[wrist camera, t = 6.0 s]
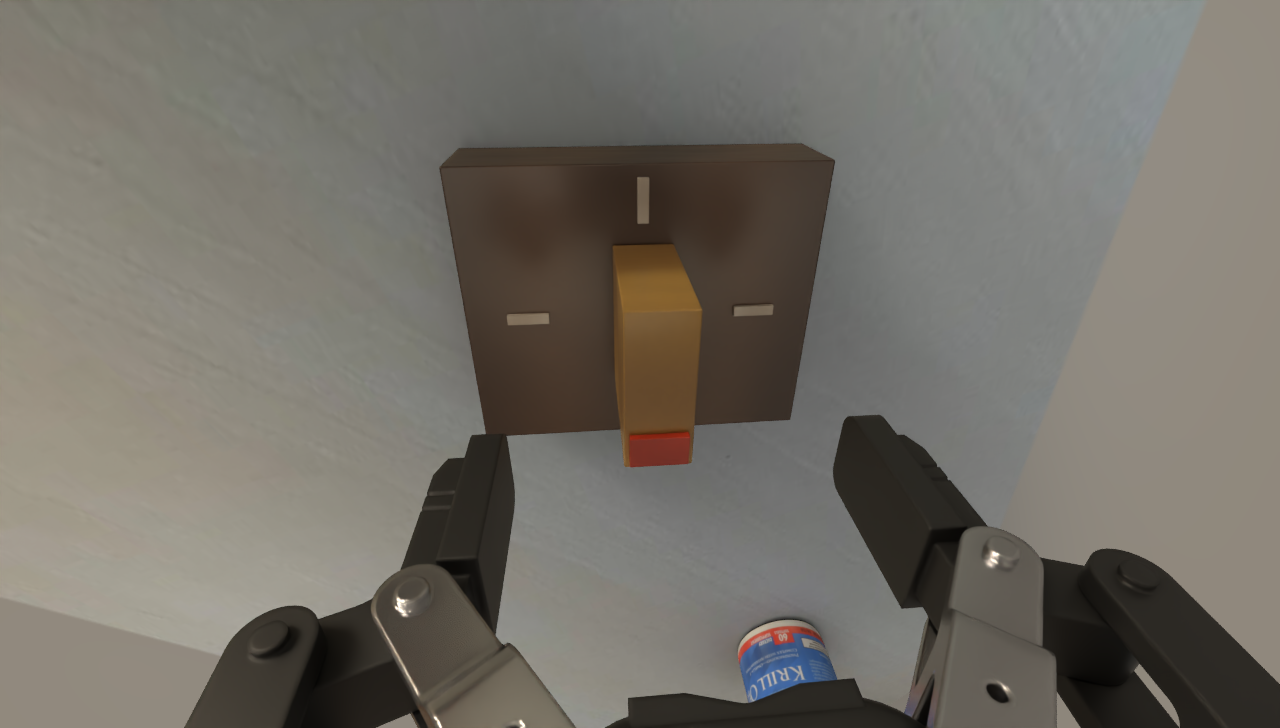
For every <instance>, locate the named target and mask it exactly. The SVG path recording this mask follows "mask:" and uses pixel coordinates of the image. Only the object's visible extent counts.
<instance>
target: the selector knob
mask: <svg viewBox="0 0 1280 728" xmlns="http://www.w3.org/2000/svg"><path fill="white" fill-rule="evenodd" d="M612 249H613V304H614V358H615V383H616V392H617V402H618V411H619V421H620V431H621V440H622V450H623V459H624V466H625V467H644V466H661V465H679V464H688V463H691V462H692V453H693V439H694V425H695V411H696V397H697V383H698V369H699V355H700V342H701V328H702V314H703V310H702V307H701V305H700V303H699V301H698V298H697V296H696V294H695V292H694V289H693V287H692V285H691V283H690V280H689V278H688V276H687V273H686V271H685V269H684V267H683V264H682V262H681V260H680V258H679V255H678V253H677V251H676V249H675V246H674V244H656V245H614V246H613V247H612Z"/></svg>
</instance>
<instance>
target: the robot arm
mask: <svg viewBox="0 0 1280 728" xmlns="http://www.w3.org/2000/svg"><path fill="white" fill-rule="evenodd" d="M833 477H834V483H835V487H836V490H837V492H838V494H839V496H840V497H841V499H842V501H843V503H844V505H845V507H846V508H847V510H848V512H849V514H850V516H851V517H852V519H853V521H854V523H855V525H856V527H857V528H858V530H859V532H860V534H861V536H862V537H863V539H864V541H865V543H866V545H867V547H868V548H869V550H870V552H871V554H872V556H873V557H874V559H875V561H876V563H877V565H878V567H879V568H880V570H881V572H882V574H883V576H884V577H885V579H886V581H887V583H888V585H889V586H890V588H891V590H892V592H893V594H894V596H895V597H896V599H897V601H898V603H899V605H900V606H901V608H902V609H903V608H916V607H923V608H924V610H925V611H926V613H927V615H928V618H927V620H926V622H925V625H924V629H923V634H922V638H921V643H920V648H919V652H918V657H917V662H916V666H915V671H914V676H913V680H912V685H911V689H910V694H909V698H908V702H907V705H906V709H905V712H904V713H903V712H901V711H899V710H897V709H895V708H892V707H890V706H888V705H886V704H883V703H880V702H877V701H874V700H870V699H866V698H862V696H861V693H860V691H859V688H858V686H857V684H856V681H855V679H854V678H853V679H841V680H830V681H818V682H807V683H799V684H796V685H794V686H791V687H789V688H786V689H784V690H781V691H779V692H776V693H774V694H771V695H769V696H766V697H764V698H761V699H759V700H756V701H754V702H750V703H737V702H732V701H726V700H721V699H715V698H710V697H704V696H698V695H693V694H687V693H680V694H668V695H657V696H645V697H634V698H628V715H629V716H628V717H626V718H623V719H621V720H618V721H616V722H614V723H612V724H611V725H609V726H607V727H605V728H1057V692H1058V694H1059V695H1060V697H1061V698H1062V700H1063V701H1064V703H1065V704H1066V706H1067V707H1068V709H1069V710H1070V712H1071V714H1072V715H1073V717H1074V718H1075V720H1076V721H1077V723H1078V724H1079V726H1080V727H1081V728H1179V727H1178V726H1177V724H1176V723H1175V722H1174V720H1173V719H1172V718H1171V717H1170V716H1169V714H1168V713H1167V712H1166V710H1165V709H1164V708H1163V707H1162V705H1161V704H1160V703H1159V702H1158V701H1157V699H1156V698H1155V697H1154V695H1153V694H1152V693H1151V692H1150V690H1149V689H1148V688H1147V687H1146V685H1145V684H1144V683H1143V682H1142V680H1141V679H1140V678H1139V677H1138V675H1137V674H1136V673H1135V672H1134V670H1135V668H1136V667H1137V666H1138V665H1139V663H1140V665H1141V666H1142V667H1143V668H1144V669H1145V671H1146V672H1147V673H1148V674H1149V676H1150V677H1151V678H1152V679H1153V680H1154V682H1155V683H1156V684H1157V685H1158V687H1159V688H1160V689H1161V690H1162V691H1163V693H1164V694H1165V695H1166V696H1167V697H1168V699H1169V700H1170V702H1171V703H1172V704H1173V706H1174V708H1175V710H1176V712H1177V714H1178V717H1179V721H1180V728H1280V684H1279V683H1278V682H1277V681H1276V680H1275V679H1274V678H1273V677H1272V676H1271V675H1270V674H1269V673H1268V672H1267V671H1266V670H1265V669H1264V668H1263V667H1262V666H1261V665H1260V664H1259V663H1258V662H1257V661H1256V660H1255V659H1254V658H1253V657H1252V656H1251V655H1250V654H1249V653H1248V652H1247V651H1246V650H1245V649H1243V648H1242V646H1241V645H1240V644H1239V643H1238V642H1237V641H1236V640H1235V639H1234V638H1233V637H1232V636H1231V635H1230V634H1228V633H1227V631H1225V629H1224V628H1222V626H1221V625H1219V624H1218V623H1217V622H1216V621H1215V620H1214V619H1213V618H1212V617H1211V616H1210V615H1209V614H1208V613H1207V612H1206V611H1205V610H1204V609H1203V608H1202V607H1201V606H1200V605H1199V604H1198V603H1197V602H1196V601H1195V600H1194V599H1193V598H1192V597H1191V596H1190V595H1189V594H1188V593H1187V592H1186V591H1185V590H1184V589H1183V588H1182V587H1181V586H1180V585H1179V584H1178V583H1177V582H1176V581H1175V580H1174V579H1173V578H1172V577H1171V576H1170V575H1169V574H1168V573H1166V572H1165V571H1164V570H1162V569H1161V568H1160V567H1158V566H1157V565H1155V564H1153V563H1152V562H1150V561H1148V560H1146V559H1144V558H1142V557H1140V556H1137V555H1135V554H1132V553H1129V552H1126V551H1122V550H1117V549H1100V550H1097V551H1095V552H1094V553H1092V555H1091V556H1090V558H1089V559H1088V561H1087V562H1086V564H1085V566H1082V565H1077V564H1071V563H1066V562H1060V561H1055V560H1049V559H1045V558H1040V557H1039V555H1038V554H1037V553H1036V552H1035V550H1034V549H1033V548H1032V547H1031V546H1029V545H1028V544H1027V543H1026V542H1025V541H1023V540H1022V539H1020V538H1019V537H1017V536H1015V535H1012V534H1011V533H1009V532H1007V531H1004V530H1001V529H998V528H994V527H988V526H987V525H986V523H985V522H984V521H983V520H982V519H981V517H980V516H979V515H978V514H977V512H976V511H975V510H974V509H973V508H972V506H971V505H970V504H969V503H968V501H967V500H966V499H965V498H964V497H963V495H962V494H961V493H960V492H959V490H958V489H957V488H956V487H955V486H954V484H953V483H952V482H951V481H950V480H948V479H947V476H946V475H945V473H944V472H943V471H942V470H941V468H940V467H937V464H936V462H935V461H934V460H933V459H932V457H931V456H930V455H929V454H928V453H927V451H926V450H925V449H924V448H923V447H922V446H920V445H919V444H917V443H916V442H914V441H913V440H911V439H910V438H908V437H907V436H905V435H897V434H896V433H895V431H894V430H893V429H892V428H891V426H890V425H889V424H888V422H887V421H886V420H885V419H884V418H883V417H882V416H881V415H866V416H849V417H847V418H846V419H845V420H844V423H843V427H842V431H841V435H840V440H839V444H838V448H837V453H836V457H835V462H834V467H833ZM514 506H515V490H514V480H513V474H512V467H511V461H510V454H509V448H508V442H507V437H506V434H505V433H502V434H482V435H472V436H471V438H470V441H469V444H468V448H467V451H466V455H465V458H451V459H448V460H447V461H446V462H445V463H444V464H443V465H442V466H441V467H440V468H439V469H438V470H437V472H436V473H435V474H434V475H433V478H432V480H431V483H430V486H429V489H428V492H427V496H426V498H425V501H424V504H423V507H422V511H421V512H420V515H419V518H418V521H417V524H416V527H415V530H414V533H413V536H412V539H411V541H410V544H409V547H408V550H407V553H406V556H405V559H404V562H403V565H402V567H401V570H400V571H398V572H397V573H395V574H393V575H392V576H391V577H389V578H388V579H387V580H386V581H385V582H384V583H383V584H382V585H381V586H380V587H379V589H378V590H377V591H376V593H375V595H374V597H373V599H371V600H369V601H367V602H365V603H363V604H361V605H358V606H356V607H353V608H350V609H347V610H344V611H341V612H338V613H335V614H332V615H329V616H326V617H324V618H321V619H317V617H316V615H315V613H314V612H313V611H311V610H310V609H308V608H306V607H302V606H285V607H280V608H277V609H273V610H271V611H268V612H266V613H264V614H262V615H260V616H258V617H256V618H255V619H253V620H252V621H251V622H249V623H248V624H247V625H245V626H244V627H243V628H242V629H241V630H240V631H239V632H238V633H237V634H236V635H235V636H234V637H233V638H232V640H231V641H230V642H229V644H228V645H227V647H226V649H225V651H224V652H223V654H222V656H221V658H220V660H219V662H218V664H217V666H216V668H215V670H214V672H213V674H212V675H211V677H210V679H209V682H208V683H207V685H206V687H205V689H204V691H203V693H202V695H201V697H200V699H199V700H198V702H197V704H196V707H195V708H194V710H193V712H192V714H191V716H190V718H189V720H188V722H187V724H186V726H185V727H184V728H376V727H378V726H381V725H383V724H385V723H388V722H390V721H393V720H395V719H397V718H400V717H402V716H405V715H407V714H409V713H410V714H411V715H412V717H413V719H414V721H415V723H416V725H417V727H418V728H576V727H575V725H574V724H573V723H572V721H571V720H570V719H569V717H568V716H567V715H566V713H565V712H564V711H563V709H562V708H561V707H560V705H559V704H558V703H557V701H556V700H555V699H554V697H553V696H552V695H551V693H550V692H549V691H548V689H547V688H546V687H545V685H544V684H543V683H542V681H541V680H540V679H539V677H538V676H537V675H536V673H535V672H534V671H533V669H532V668H531V667H530V665H529V664H528V663H527V661H526V660H525V659H524V657H523V656H522V655H521V654H520V652H519V651H518V650H517V649H516V648H515V647H514V646H513V645H512V644H510V643H506V644H505V645H503V644H502V643H501V642H500V641H499V640H498V639H497V637H496V636H495V635H496V628H497V622H498V615H499V608H500V602H501V595H502V588H503V581H504V575H505V568H506V561H507V555H508V548H509V541H510V535H511V528H512V521H513V515H514Z"/></svg>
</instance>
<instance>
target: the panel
mask: <svg viewBox="0 0 1280 728" xmlns="http://www.w3.org/2000/svg"><path fill="white" fill-rule="evenodd" d="M834 164H835V160H833V159H831V158H829V157H827V156H825V155H823V154H821V153H820V152H818V151H816V150H814V149H812V148H810V147H808V146H806V145H804V144H802V143H801V144H732V145H664V146H595V147H526V148H459V149H457V150H456V151H455V152H454V153H453V154H452V155H451V156H450V157H449V158H448V159H447V160H446V161H445V162H444V163H443V164H442V165H441V166H440V168H439V169H440V174H441V180H442V186H443V191H444V197H445V203H446V208H447V214H448V220H449V225H450V231H451V237H452V243H453V248H454V254H455V260H456V265H457V271H458V277H459V282H460V288H461V294H462V299H463V305H464V311H465V317H466V322H467V328H468V334H469V339H470V345H471V351H472V356H473V362H474V368H475V373H476V379H477V385H478V391H479V396H480V402H481V408H482V413H483V419H484V425H485V430H486V434H502V433H505V434H506V436H510V435H528V434H546V433H564V432H581V431H599V430H617V429H620V421H619V411H618V402H617V392H616V383H615V358H614V304H613V249H612V247H613V246H614V245H656V244H674V246H675V249H676V251H677V253H678V255H679V258H680V260H681V262H682V264H683V267H684V269H685V271H686V273H687V276H688V278H689V280H690V283H691V285H692V287H693V289H694V292H695V294H696V296H697V298H698V301H699V303H700V305H701V307H702V310H703V314H702V328H701V342H700V355H699V369H698V383H697V397H696V411H695V425H706V424H724V423H742V422H760V421H778V420H790V417H791V412H792V406H793V400H794V394H795V388H796V383H797V377H798V371H799V365H800V360H801V354H802V348H803V342H804V337H805V331H806V325H807V319H808V314H809V308H810V302H811V296H812V291H813V285H814V279H815V273H816V267H817V262H818V256H819V250H820V244H821V239H822V233H823V227H824V221H825V216H826V210H827V204H828V198H829V193H830V187H831V181H832V175H833V170H834Z"/></svg>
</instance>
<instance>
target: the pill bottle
mask: <svg viewBox="0 0 1280 728" xmlns="http://www.w3.org/2000/svg"><path fill="white" fill-rule="evenodd" d="M738 659H739V664H740V668H741V672H742V677H743V681H744V685H745V689H746V693H747V697H748V702H749V703H750V702H754V701H756V700H759V699H761V698H764V697H766V696H769V695H771V694H774V693H776V692H779V691H781V690H784V689H786V688H789V687H791V686H794V685H796V684H799V683H807V682H818V681H830V680H837V677H836V674H835V672H834V669H833V666H832V664H831V661H830V659H829V656H828V653H827V651H826V648H825V645H824V643H823V641H822V638H821V636H820V634H819V633H818V631H817V630H816V629H815V628H814V627H813V626H811V625H810V624H807V623H805V622H802V621H798V620H780V621H775V622H771V623H768V624H765V625H762V626H760V627H758V628H756V629H754V630H753V631H751V632H750V633H748V634H747V635H746V636H745V637H744V638H743V640H742V641H741V643H740V645H739V648H738Z"/></svg>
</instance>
